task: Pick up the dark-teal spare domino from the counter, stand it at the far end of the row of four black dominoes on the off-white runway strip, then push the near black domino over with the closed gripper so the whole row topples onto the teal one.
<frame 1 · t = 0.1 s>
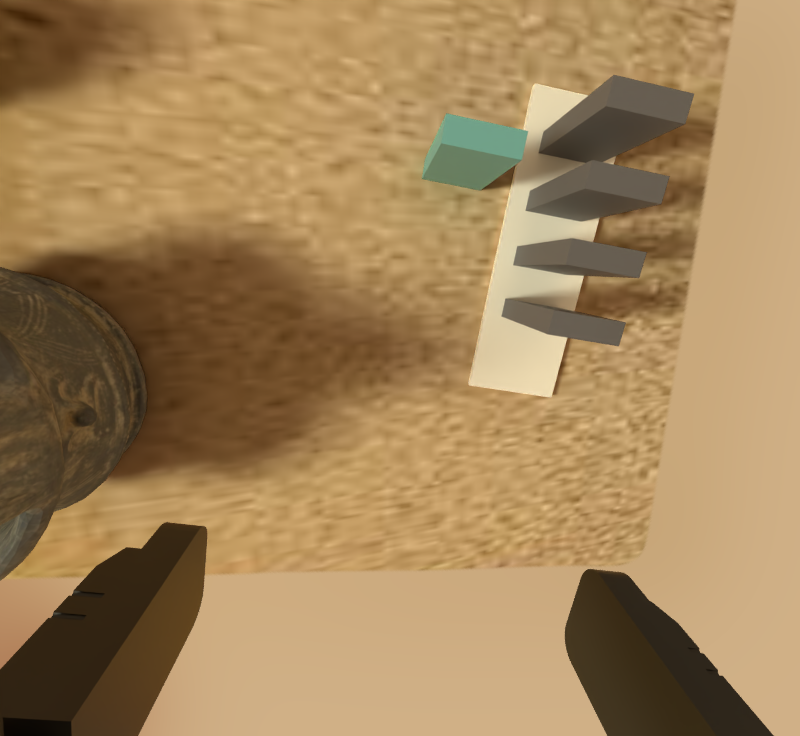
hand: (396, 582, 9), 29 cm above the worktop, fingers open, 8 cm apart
domino 2: (555, 206, 34), point 1 cm above the worktop, touching runway
domino 3: (542, 260, 35), point 1 cm above the worktop, touching runway
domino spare: (453, 174, 34), on the worktop
domino 1: (569, 148, 33), point 1 cm above the worktop, touching runway
runway: (541, 255, 36), on the worktop
domino 4: (530, 312, 36), point 1 cm above the worktop, touching runway
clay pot: (39, 379, 36), on the worktop
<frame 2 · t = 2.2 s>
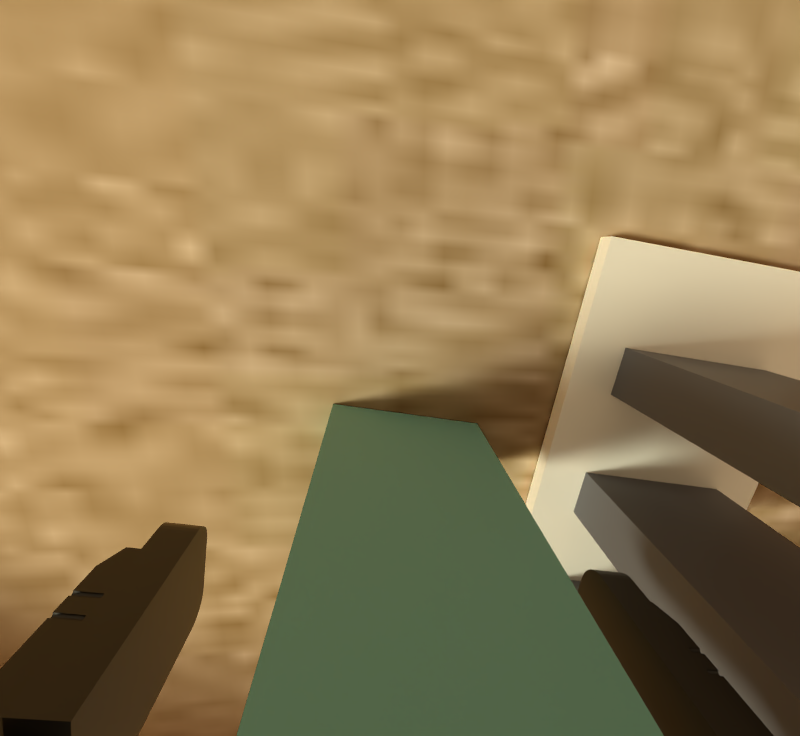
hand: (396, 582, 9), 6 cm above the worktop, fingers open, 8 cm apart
domino 2: (644, 500, 15), point 1 cm above the worktop, touching gripper, hand, runway
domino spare: (402, 435, 14), on the worktop
domino 1: (688, 382, 13), point 1 cm above the worktop, touching runway
runway: (603, 578, 16), on the worktop
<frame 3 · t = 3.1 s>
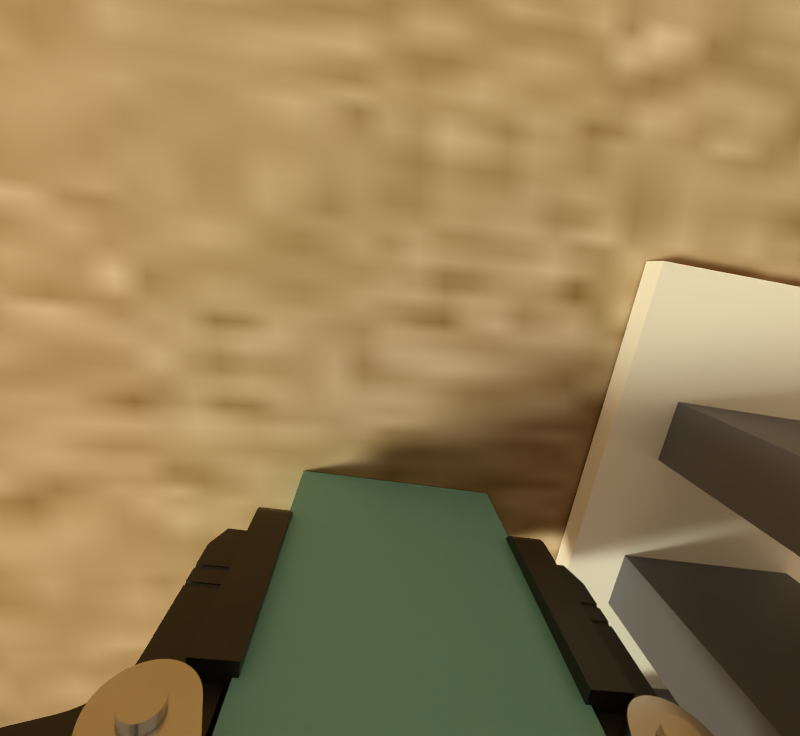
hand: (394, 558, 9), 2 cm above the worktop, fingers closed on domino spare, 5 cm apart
domino 2: (697, 588, 12), point 1 cm above the worktop, touching hand, runway
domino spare: (392, 508, 11), on the worktop, touching gripper
domino 1: (756, 444, 11), point 1 cm above the worktop, touching runway
runway: (641, 677, 13), on the worktop
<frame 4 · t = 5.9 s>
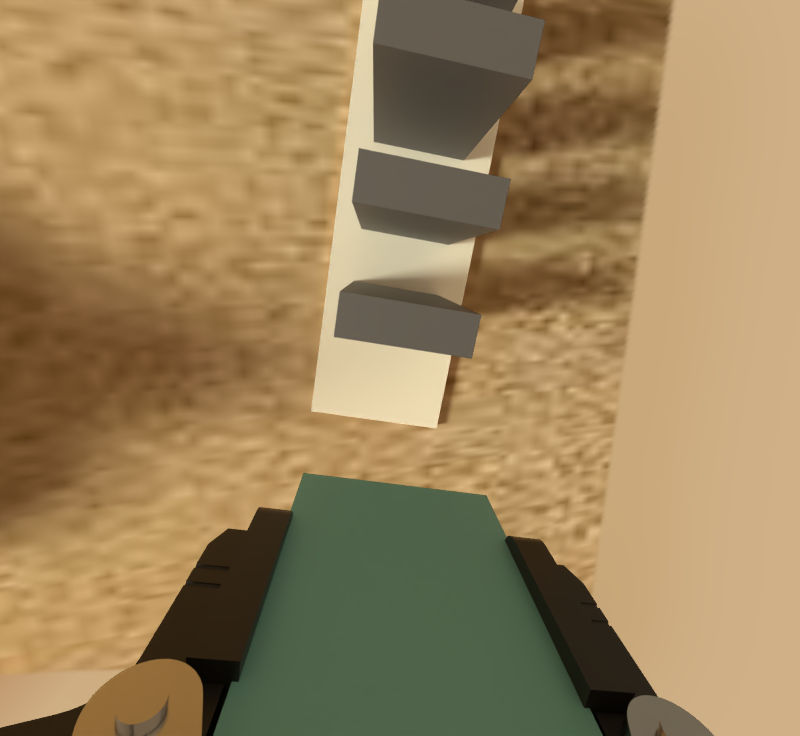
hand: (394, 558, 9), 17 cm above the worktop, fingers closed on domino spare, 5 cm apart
domino 2: (421, 135, 22), point 1 cm above the worktop, touching runway
domino 3: (407, 222, 23), point 1 cm above the worktop, touching runway
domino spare: (392, 510, 11), point 15 cm above the worktop, touching gripper
domino 1: (437, 39, 21), point 1 cm above the worktop, touching runway
runway: (408, 214, 23), on the worktop
domino 4: (394, 301, 24), point 1 cm above the worktop, touching runway
when the fingers open (3 cm above the worktop, at t = 8.8 s): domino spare stays where it is, resting on runway.
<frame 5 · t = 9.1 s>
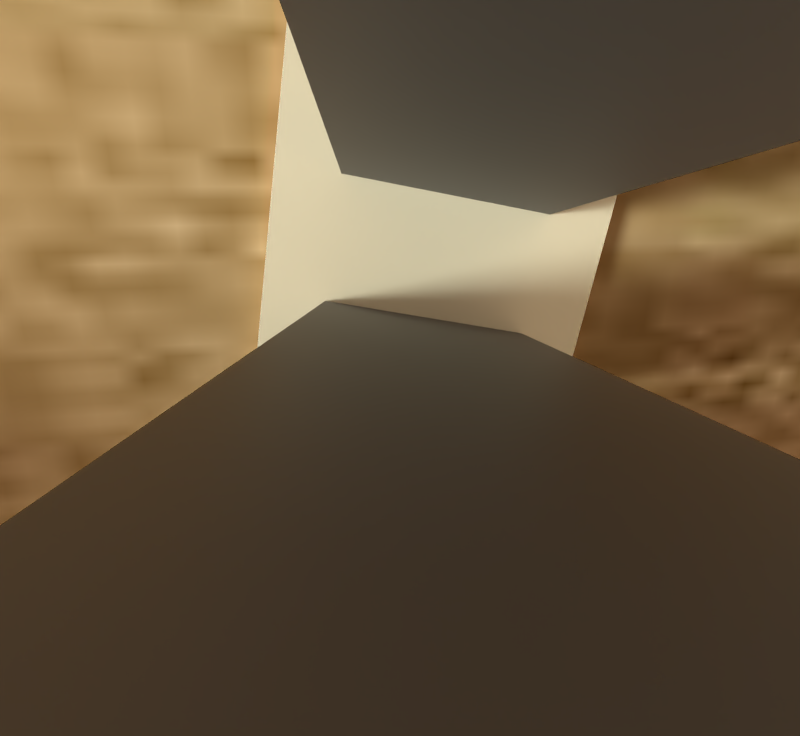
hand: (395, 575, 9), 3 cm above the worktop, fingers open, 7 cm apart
domino 3: (455, 157, 9), point 1 cm above the worktop, touching runway
runway: (454, 141, 10), on the worktop
domino 4: (419, 348, 10), point 1 cm above the worktop, touching runway
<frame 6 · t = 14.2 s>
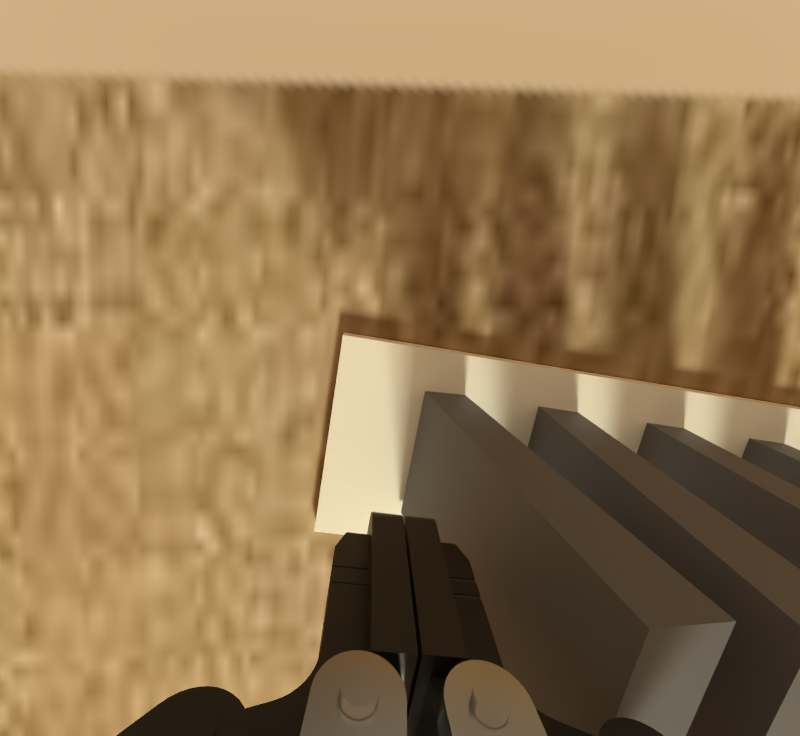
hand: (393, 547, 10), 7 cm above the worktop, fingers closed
domino 2: (541, 468, 16), point 1 cm above the worktop, touching runway
domino 3: (645, 482, 17), point 1 cm above the worktop, touching runway
domino 1: (432, 454, 16), point 1 cm above the worktop, tilted 10°, touching runway
runway: (625, 473, 17), on the worktop
domino 4: (744, 495, 17), point 1 cm above the worktop, touching runway
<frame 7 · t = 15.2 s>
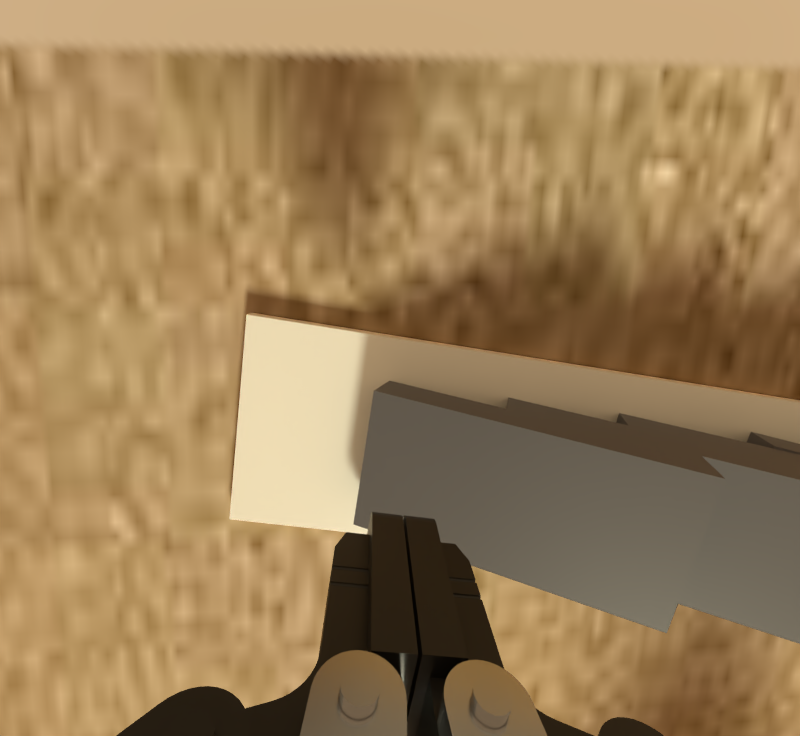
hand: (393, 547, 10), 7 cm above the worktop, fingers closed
domino 2: (492, 466, 15), point 1 cm above the worktop, tilted 69°, touching domino 1, domino 3
domino 3: (604, 480, 15), point 1 cm above the worktop, tilted 69°, touching domino 2, domino 4, runway
domino 1: (371, 451, 15), point 1 cm above the worktop, tilted 69°, touching domino 2, runway
runway: (555, 459, 17), on the worktop
domino 4: (735, 497, 16), point 2 cm above the worktop, tilted 69°, touching domino 3, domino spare
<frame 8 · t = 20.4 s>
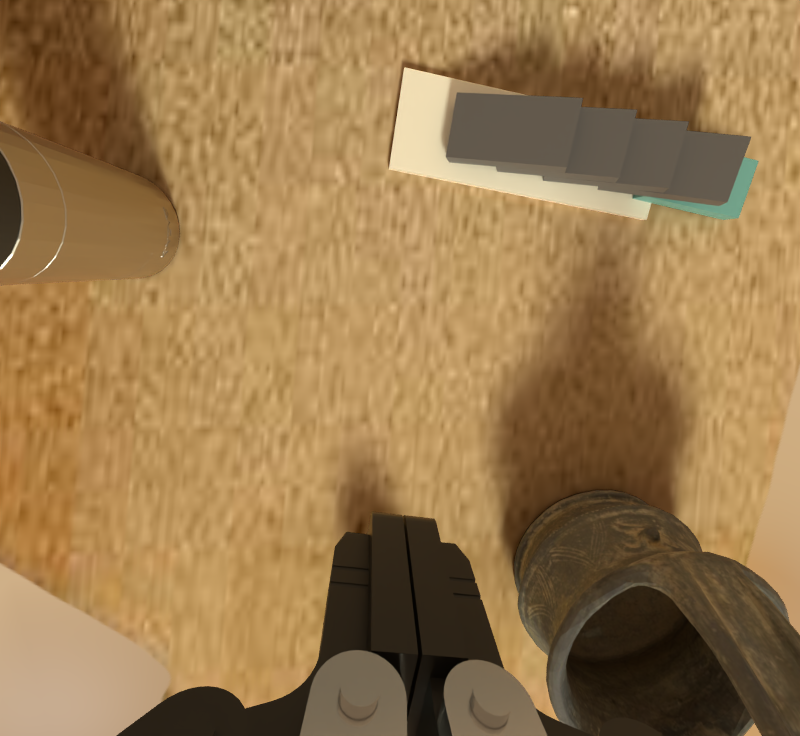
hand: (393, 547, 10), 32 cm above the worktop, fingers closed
domino 2: (502, 138, 36), point 1 cm above the worktop, tilted 69°, touching domino 1, domino 3
domino 3: (550, 148, 36), point 1 cm above the worktop, tilted 69°, touching domino 2, domino 4, runway
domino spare: (646, 168, 37), point 2 cm above the worktop, tilted 93°, touching domino 4, runway
domino 1: (452, 128, 35), point 1 cm above the worktop, tilted 69°, touching domino 2, runway
runway: (530, 149, 37), on the worktop
domino 4: (607, 158, 36), point 2 cm above the worktop, tilted 69°, touching domino 3, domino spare
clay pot: (587, 557, 49), on the worktop
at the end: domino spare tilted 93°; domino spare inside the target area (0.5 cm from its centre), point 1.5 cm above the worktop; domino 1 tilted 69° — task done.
